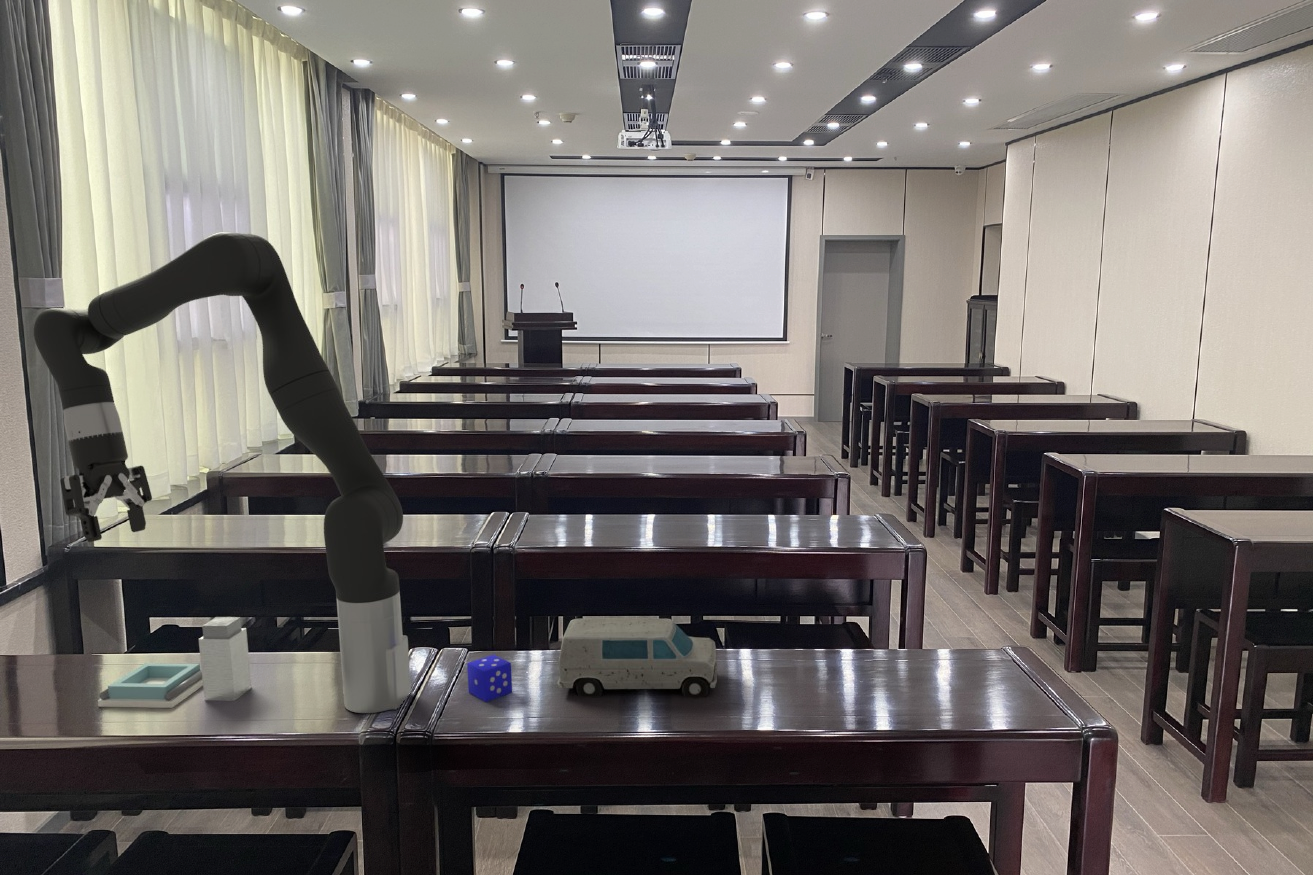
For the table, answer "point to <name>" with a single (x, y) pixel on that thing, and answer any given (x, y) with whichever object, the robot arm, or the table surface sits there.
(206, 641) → the stepped metal tower
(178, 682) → the tray
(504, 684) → the die
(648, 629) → the toy car
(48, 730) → the table surface
